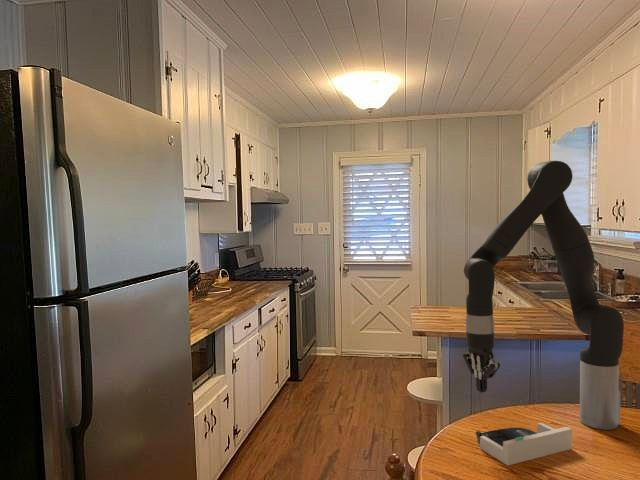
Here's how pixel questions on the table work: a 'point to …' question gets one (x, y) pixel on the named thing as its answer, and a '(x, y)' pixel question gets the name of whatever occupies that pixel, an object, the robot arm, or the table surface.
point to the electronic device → (505, 434)
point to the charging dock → (529, 445)
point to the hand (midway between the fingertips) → (481, 391)
